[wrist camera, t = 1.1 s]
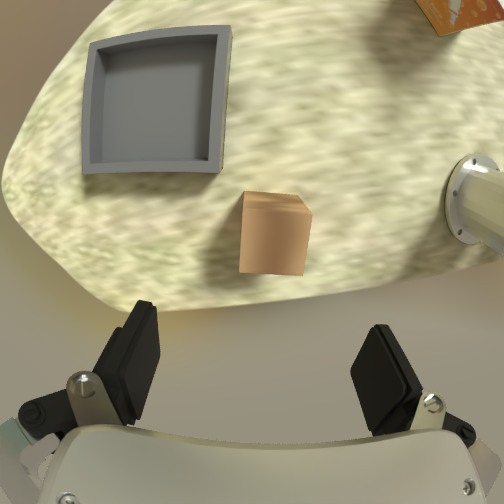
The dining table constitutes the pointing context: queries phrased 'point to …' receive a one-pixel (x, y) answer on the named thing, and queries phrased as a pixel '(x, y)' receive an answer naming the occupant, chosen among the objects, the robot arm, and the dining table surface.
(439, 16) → the small box
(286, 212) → the wooden block
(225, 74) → the tray
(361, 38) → the dining table surface
